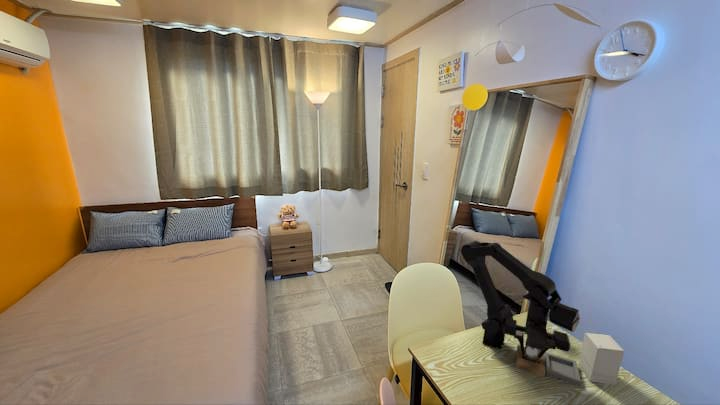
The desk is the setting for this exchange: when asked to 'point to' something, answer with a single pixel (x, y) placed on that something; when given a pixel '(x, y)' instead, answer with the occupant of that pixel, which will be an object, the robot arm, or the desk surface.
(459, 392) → the desk surface
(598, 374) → the supplement box
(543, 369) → the socket block
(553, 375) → the tray
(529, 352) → the grey and red cylinder
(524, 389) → the desk surface
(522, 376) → the desk surface
